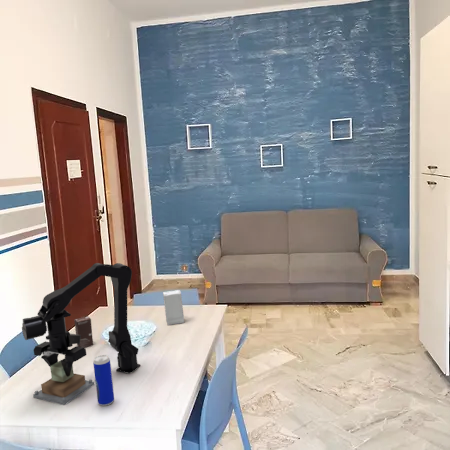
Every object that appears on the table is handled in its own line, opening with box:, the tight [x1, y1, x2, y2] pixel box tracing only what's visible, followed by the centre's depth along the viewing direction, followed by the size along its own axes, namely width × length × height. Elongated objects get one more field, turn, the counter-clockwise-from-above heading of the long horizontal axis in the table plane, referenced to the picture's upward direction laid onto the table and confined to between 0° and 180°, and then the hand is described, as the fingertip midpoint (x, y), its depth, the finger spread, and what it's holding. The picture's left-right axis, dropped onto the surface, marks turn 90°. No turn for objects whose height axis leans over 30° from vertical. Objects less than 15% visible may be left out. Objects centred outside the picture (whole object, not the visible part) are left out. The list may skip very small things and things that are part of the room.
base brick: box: [40, 373, 86, 397], centre depth 157 cm, size 10×10×3 cm
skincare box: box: [162, 289, 185, 326], centre depth 216 cm, size 8×6×15 cm
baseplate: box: [32, 379, 95, 406], centre depth 158 cm, size 14×14×2 cm
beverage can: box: [93, 354, 115, 406], centre depth 147 cm, size 5×5×15 cm
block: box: [49, 359, 75, 382], centre depth 157 cm, size 5×5×5 cm
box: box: [73, 315, 94, 348], centre depth 195 cm, size 6×4×12 cm
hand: (62, 374), depth 157 cm, fingers closed on block, 5 cm apart
